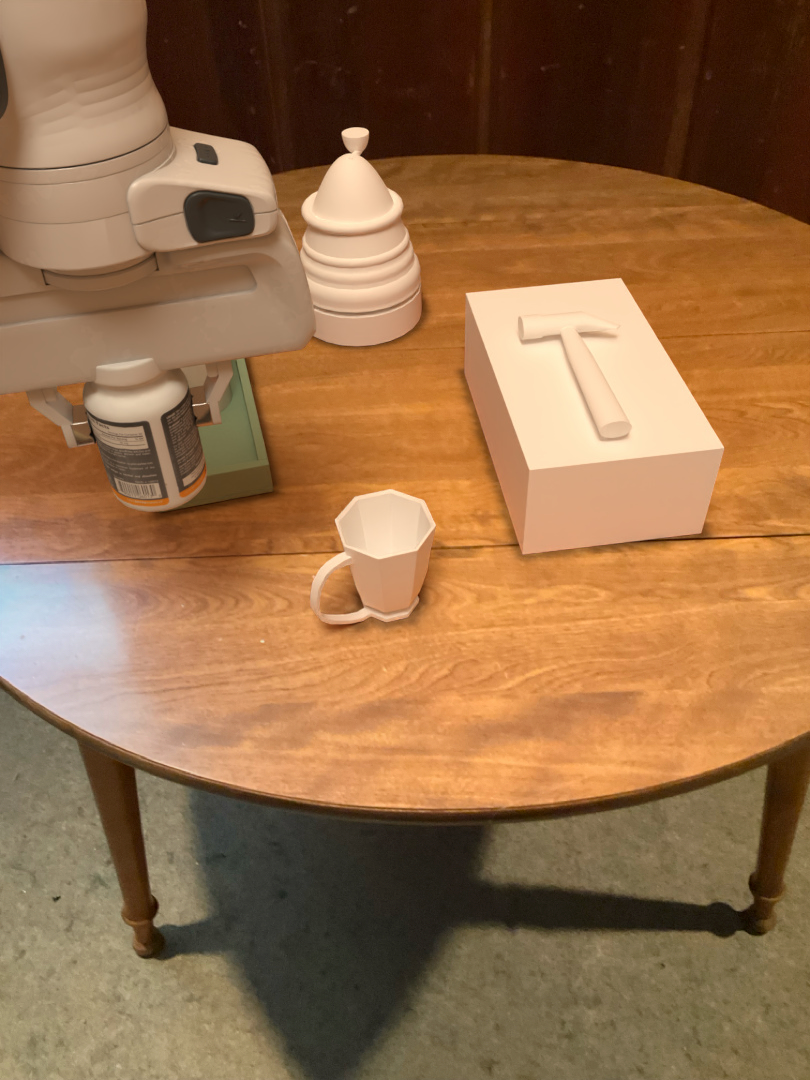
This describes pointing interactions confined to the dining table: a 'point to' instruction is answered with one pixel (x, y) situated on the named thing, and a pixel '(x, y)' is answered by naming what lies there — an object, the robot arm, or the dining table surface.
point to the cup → (380, 555)
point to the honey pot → (359, 254)
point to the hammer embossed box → (586, 417)
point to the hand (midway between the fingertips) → (147, 429)
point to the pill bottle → (146, 434)
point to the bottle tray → (234, 448)
